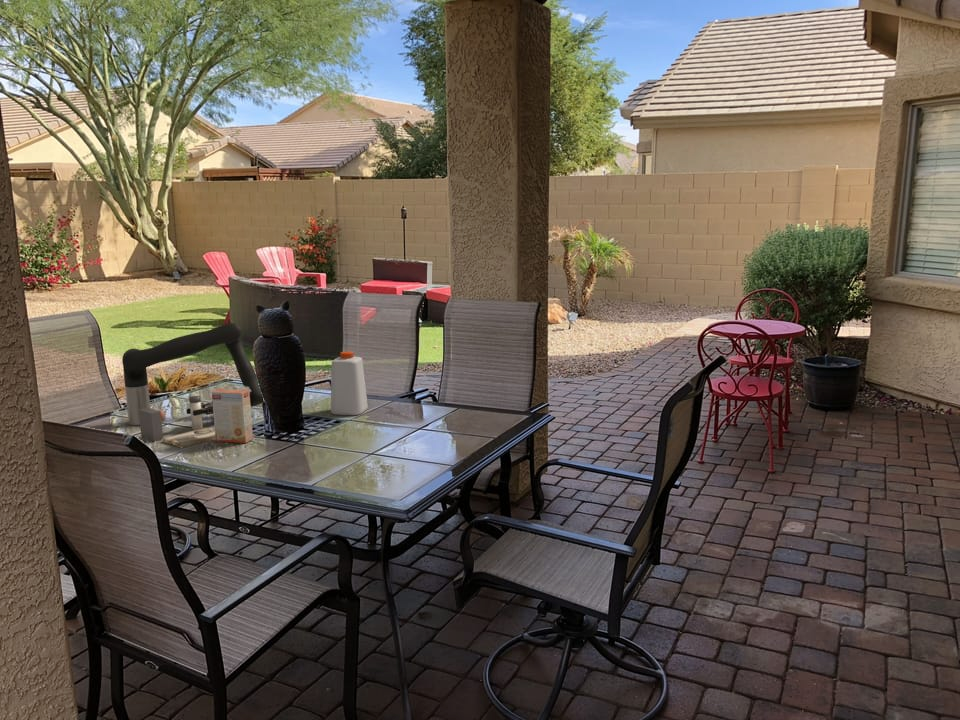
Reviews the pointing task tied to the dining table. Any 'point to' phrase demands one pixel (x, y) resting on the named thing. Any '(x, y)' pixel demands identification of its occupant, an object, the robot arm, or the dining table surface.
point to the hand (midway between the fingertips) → (190, 412)
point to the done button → (162, 415)
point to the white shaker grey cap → (196, 420)
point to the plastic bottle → (348, 385)
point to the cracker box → (232, 416)
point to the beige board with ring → (191, 437)
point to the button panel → (150, 424)
